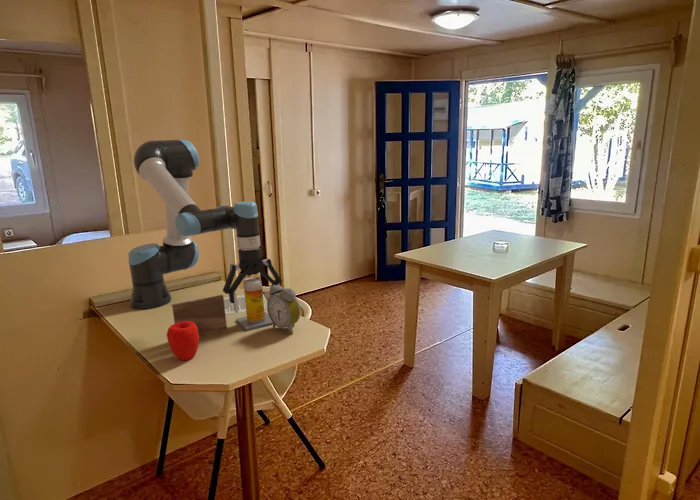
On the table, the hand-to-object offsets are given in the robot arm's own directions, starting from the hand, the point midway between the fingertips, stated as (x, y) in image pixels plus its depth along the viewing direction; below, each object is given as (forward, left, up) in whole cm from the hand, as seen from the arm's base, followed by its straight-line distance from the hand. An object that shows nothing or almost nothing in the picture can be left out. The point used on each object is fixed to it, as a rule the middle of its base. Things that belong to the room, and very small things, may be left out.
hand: (255, 307), depth 158 cm
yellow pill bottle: (0, 0, -5) cm, 5 cm away
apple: (+14, -26, -6) cm, 31 cm away
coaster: (0, 0, -5) cm, 5 cm away
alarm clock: (+12, +6, -6) cm, 15 cm away
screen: (-1, -18, -5) cm, 19 cm away
